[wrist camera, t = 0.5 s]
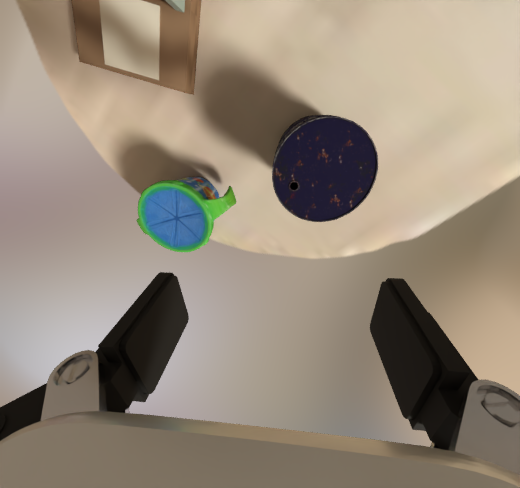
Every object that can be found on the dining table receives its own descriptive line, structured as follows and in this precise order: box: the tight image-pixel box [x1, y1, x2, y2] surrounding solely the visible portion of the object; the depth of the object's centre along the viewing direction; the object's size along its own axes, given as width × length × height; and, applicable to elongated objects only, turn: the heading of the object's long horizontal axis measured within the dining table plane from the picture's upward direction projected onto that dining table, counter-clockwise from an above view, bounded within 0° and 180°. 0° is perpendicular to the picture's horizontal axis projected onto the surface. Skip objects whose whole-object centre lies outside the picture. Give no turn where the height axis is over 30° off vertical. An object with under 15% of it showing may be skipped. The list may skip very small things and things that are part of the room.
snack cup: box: [137, 177, 236, 252], centre depth 35 cm, size 16×11×10 cm
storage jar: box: [272, 115, 378, 222], centre depth 27 cm, size 10×10×15 cm
